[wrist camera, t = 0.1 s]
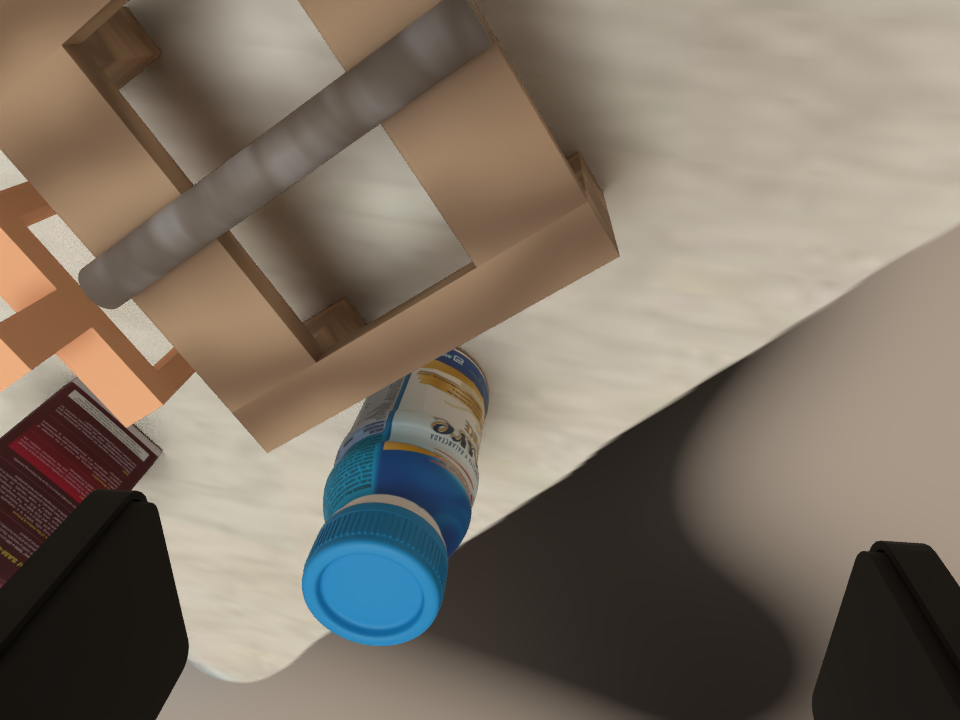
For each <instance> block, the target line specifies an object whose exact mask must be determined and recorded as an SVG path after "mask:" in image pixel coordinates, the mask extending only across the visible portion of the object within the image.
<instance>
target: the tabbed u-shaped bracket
mask: <svg viewBox="0 0 960 720" xmlns="http://www.w3.org/2000/svg"><path fill="white" fill-rule="evenodd" d="M55 214H57V213H56V212H55V211H54V210H53V209H52V207H51V206H50V205H49V204H48V203H47V202H46V201H45V199H44V198H43V197H42V196H41V195H40V194H39V193H38V191H37V190H36V189H35V188H34V187H33V186H32V185H31V183H30V182H29V181H28V182H25V183H22V184H19V185H16V186H13V187H10V188H7V189H5V190H2V191H0V296H1V297H2V298H3V299H4V300H5V301H6V302H7V303H8V304H9V305H10V306H11V308H12V309H13V310H14V311H15V312H16V314H14V315H12V316H11V317H9V318H7V319H5V320H4V321H2V322H0V392H1V391H2V390H4V389H5V388H7V387H8V386H9V385H11V384H12V383H14V382H15V381H17V380H18V379H19V378H21V377H22V376H24V375H25V374H27V373H28V372H29V371H31V370H32V369H34V368H35V367H37V366H38V365H39V364H41V363H42V362H44V361H45V360H46V359H48V358H49V357H51V356H52V355H53V354H56V355H57V356H58V357H59V358H60V359H61V360H62V361H63V362H64V363H65V364H66V365H67V366H68V367H69V368H70V369H71V371H72V372H73V373H74V374H75V375H76V376H77V377H78V378H79V379H80V380H81V381H82V382H83V383H84V384H85V385H86V386H87V387H88V388H89V389H90V390H91V392H92V393H93V394H94V395H95V396H96V397H97V398H98V399H99V400H100V401H101V402H102V403H103V404H104V405H105V406H106V407H107V408H108V409H109V410H110V412H111V413H112V414H113V415H114V416H115V417H116V418H117V419H118V420H119V421H120V422H121V423H122V424H123V425H124V426H125V427H126V428H127V427H129V426H130V425H132V424H134V423H135V422H137V421H138V420H140V419H142V418H143V417H145V416H146V415H148V414H150V413H151V412H153V411H154V410H156V409H158V408H159V407H161V406H162V405H164V404H165V403H166V402H167V401H168V399H169V398H170V397H171V396H172V395H173V394H174V393H175V392H176V391H177V390H178V389H179V388H180V387H181V386H182V385H183V384H184V383H185V382H186V381H187V380H188V379H189V378H190V377H191V375H192V374H193V373H194V372H195V370H194V369H193V368H192V367H191V366H190V364H189V363H188V362H187V361H186V360H185V359H184V358H183V357H182V355H181V354H180V353H179V352H178V351H177V350H176V349H175V347H174V348H172V349H171V350H170V351H169V352H168V353H167V354H166V355H165V356H164V357H163V358H162V359H160V360H159V361H158V362H157V363H156V364H155V365H154V366H152V365H151V364H150V363H149V362H148V361H147V360H146V359H145V357H144V356H143V355H142V354H141V353H140V352H139V351H138V350H137V349H136V347H135V346H134V345H133V344H132V343H131V342H130V341H129V340H128V339H127V337H126V336H125V335H124V334H123V333H122V332H121V331H120V330H119V329H118V327H117V326H116V325H115V324H114V323H113V322H112V321H111V320H110V319H109V317H108V316H107V315H106V314H105V313H104V312H103V311H102V310H101V309H100V308H99V306H98V305H97V304H95V303H94V302H92V301H91V300H90V299H89V298H88V297H87V296H86V295H85V293H84V292H83V290H82V288H81V286H80V285H79V284H78V283H77V282H76V281H75V280H74V279H73V278H72V276H71V275H70V274H69V273H68V272H67V271H66V270H65V269H64V268H63V266H62V265H61V264H60V263H59V262H58V261H57V260H56V259H55V258H54V256H53V255H52V254H51V253H50V252H49V251H48V250H47V249H46V248H45V246H44V245H43V244H42V243H41V242H40V241H39V240H38V239H37V238H36V237H35V235H34V234H33V233H32V232H31V231H30V230H29V229H28V228H27V226H30V225H32V224H34V223H37V222H39V221H41V220H44V219H46V218H48V217H51V216H53V215H55Z"/></svg>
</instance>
